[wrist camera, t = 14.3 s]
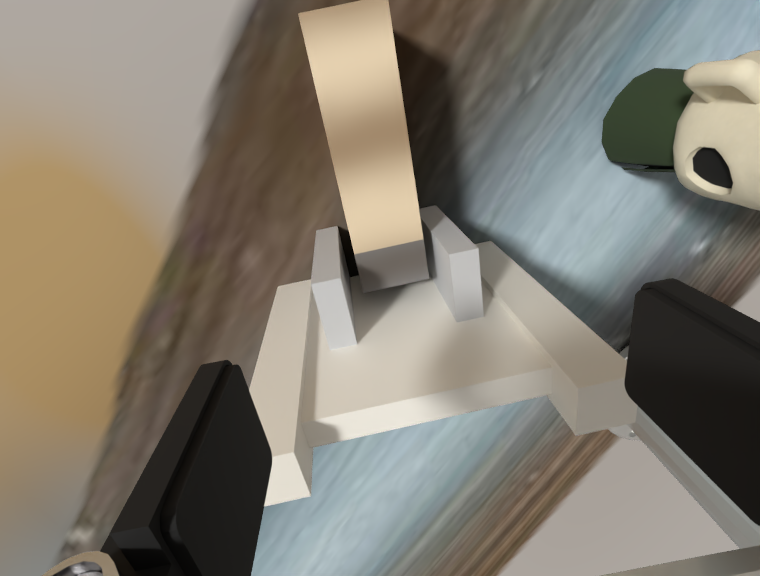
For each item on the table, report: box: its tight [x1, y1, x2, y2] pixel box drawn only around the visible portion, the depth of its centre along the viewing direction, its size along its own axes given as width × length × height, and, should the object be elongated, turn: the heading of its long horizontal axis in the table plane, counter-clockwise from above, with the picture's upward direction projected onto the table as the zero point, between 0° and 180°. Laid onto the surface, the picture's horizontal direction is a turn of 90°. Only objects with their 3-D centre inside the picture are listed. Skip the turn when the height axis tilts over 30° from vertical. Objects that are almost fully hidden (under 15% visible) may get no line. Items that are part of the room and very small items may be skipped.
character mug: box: [602, 50, 760, 211], centre depth 21 cm, size 11×7×13 cm, turn 62°
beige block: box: [298, 0, 429, 293], centre depth 23 cm, size 14×4×6 cm, turn 11°
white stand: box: [249, 205, 637, 506], centre depth 22 cm, size 16×6×16 cm, turn 101°
